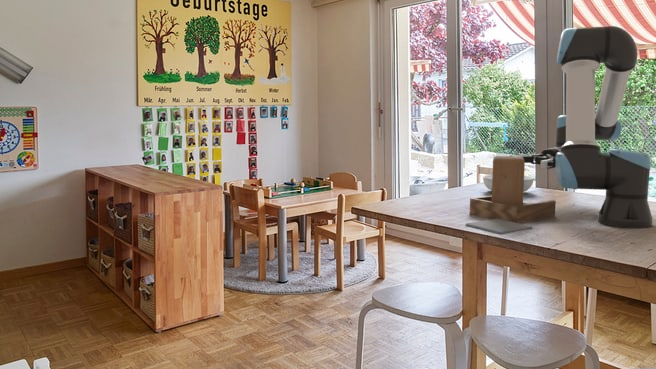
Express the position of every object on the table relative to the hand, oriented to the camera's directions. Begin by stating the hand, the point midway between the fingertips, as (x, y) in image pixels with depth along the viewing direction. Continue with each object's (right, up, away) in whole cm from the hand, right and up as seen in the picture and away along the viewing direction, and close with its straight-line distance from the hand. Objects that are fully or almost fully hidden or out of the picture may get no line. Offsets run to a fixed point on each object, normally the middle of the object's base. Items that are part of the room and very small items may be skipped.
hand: (523, 163), depth 193 cm
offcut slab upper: (+1, -16, -2) cm, 16 cm away
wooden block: (-7, -18, -5) cm, 20 cm away
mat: (-16, -21, -22) cm, 34 cm away
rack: (-5, -18, -5) cm, 19 cm away
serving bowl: (+9, -11, +44) cm, 46 cm away
